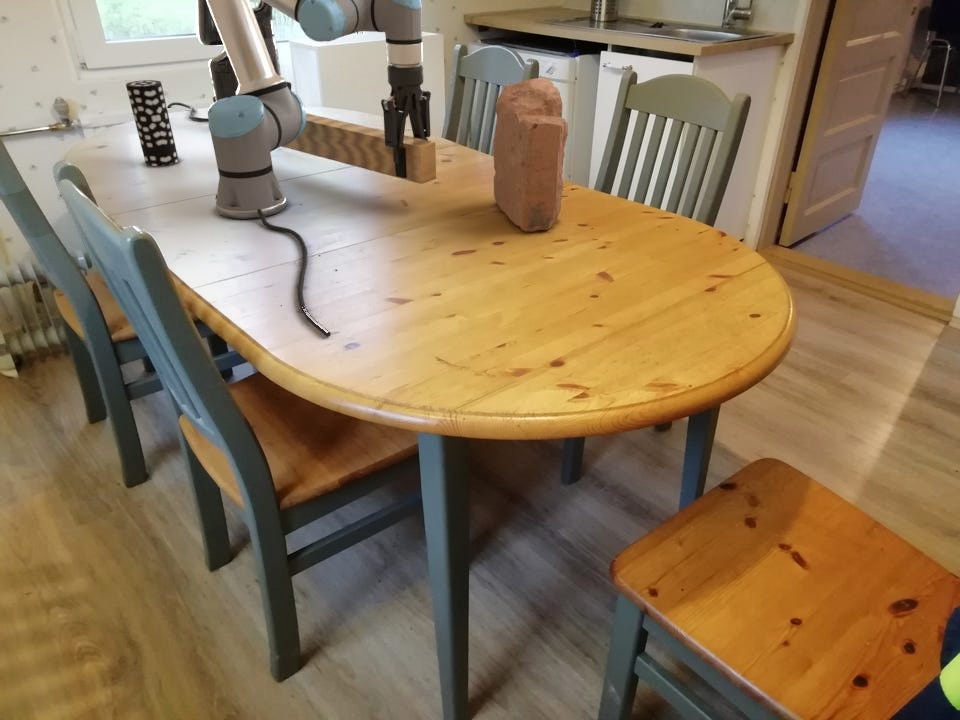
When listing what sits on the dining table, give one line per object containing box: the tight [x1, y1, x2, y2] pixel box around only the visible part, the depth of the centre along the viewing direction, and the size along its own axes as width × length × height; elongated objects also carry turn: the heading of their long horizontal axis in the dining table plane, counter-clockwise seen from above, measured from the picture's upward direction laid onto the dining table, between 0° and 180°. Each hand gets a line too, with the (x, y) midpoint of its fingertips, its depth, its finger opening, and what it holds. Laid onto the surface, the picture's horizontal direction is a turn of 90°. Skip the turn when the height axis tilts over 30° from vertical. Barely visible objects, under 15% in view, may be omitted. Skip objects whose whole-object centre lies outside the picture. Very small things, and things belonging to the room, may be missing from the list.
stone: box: [493, 77, 569, 232], centre depth 148 cm, size 22×11×28 cm, turn 18°
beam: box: [280, 112, 437, 185], centre depth 167 cm, size 59×5×8 cm, turn 53°
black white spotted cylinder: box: [125, 79, 179, 167], centre depth 181 cm, size 8×8×20 cm
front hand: (409, 173), depth 157 cm, fingers closed on beam, 5 cm apart
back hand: (272, 126), depth 180 cm, fingers closed on beam, 5 cm apart
